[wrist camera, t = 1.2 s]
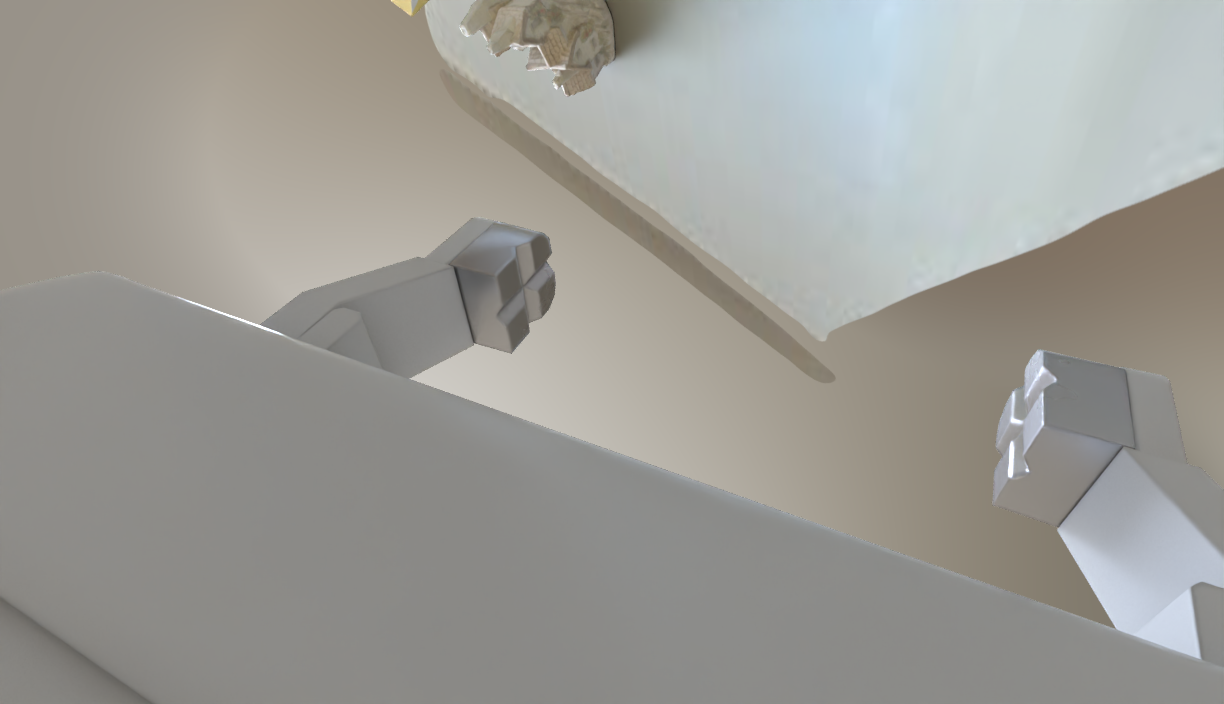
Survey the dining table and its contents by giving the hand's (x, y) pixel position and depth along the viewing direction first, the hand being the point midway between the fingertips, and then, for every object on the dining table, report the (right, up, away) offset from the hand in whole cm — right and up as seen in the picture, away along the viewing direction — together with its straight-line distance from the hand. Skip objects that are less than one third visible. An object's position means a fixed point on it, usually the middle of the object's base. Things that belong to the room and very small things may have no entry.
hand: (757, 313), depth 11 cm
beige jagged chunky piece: (-9, +43, +69) cm, 81 cm away
